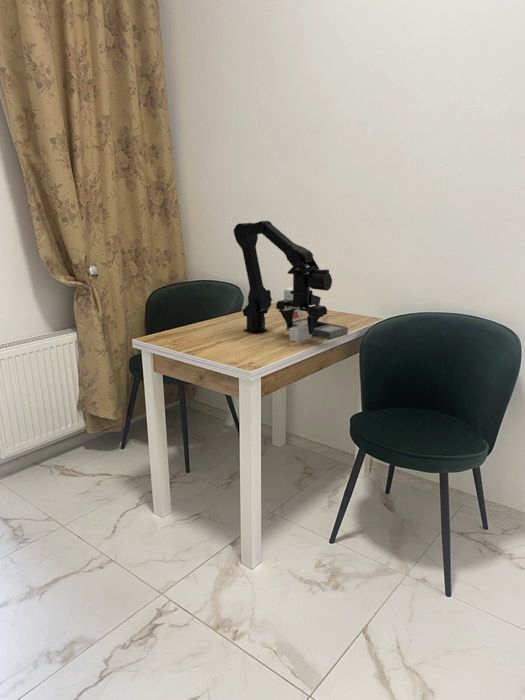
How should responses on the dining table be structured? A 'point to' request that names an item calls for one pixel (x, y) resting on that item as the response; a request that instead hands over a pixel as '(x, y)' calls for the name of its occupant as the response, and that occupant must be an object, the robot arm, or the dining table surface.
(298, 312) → the ink box
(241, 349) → the dining table surface
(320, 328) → the frame
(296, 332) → the light grey rectangular block
